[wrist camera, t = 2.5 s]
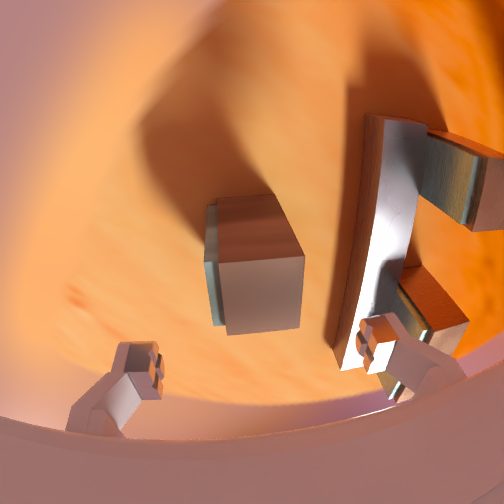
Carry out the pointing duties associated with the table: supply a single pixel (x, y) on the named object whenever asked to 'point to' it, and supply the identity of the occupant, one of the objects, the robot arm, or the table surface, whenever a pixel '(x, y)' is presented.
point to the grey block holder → (400, 227)
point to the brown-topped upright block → (252, 266)
